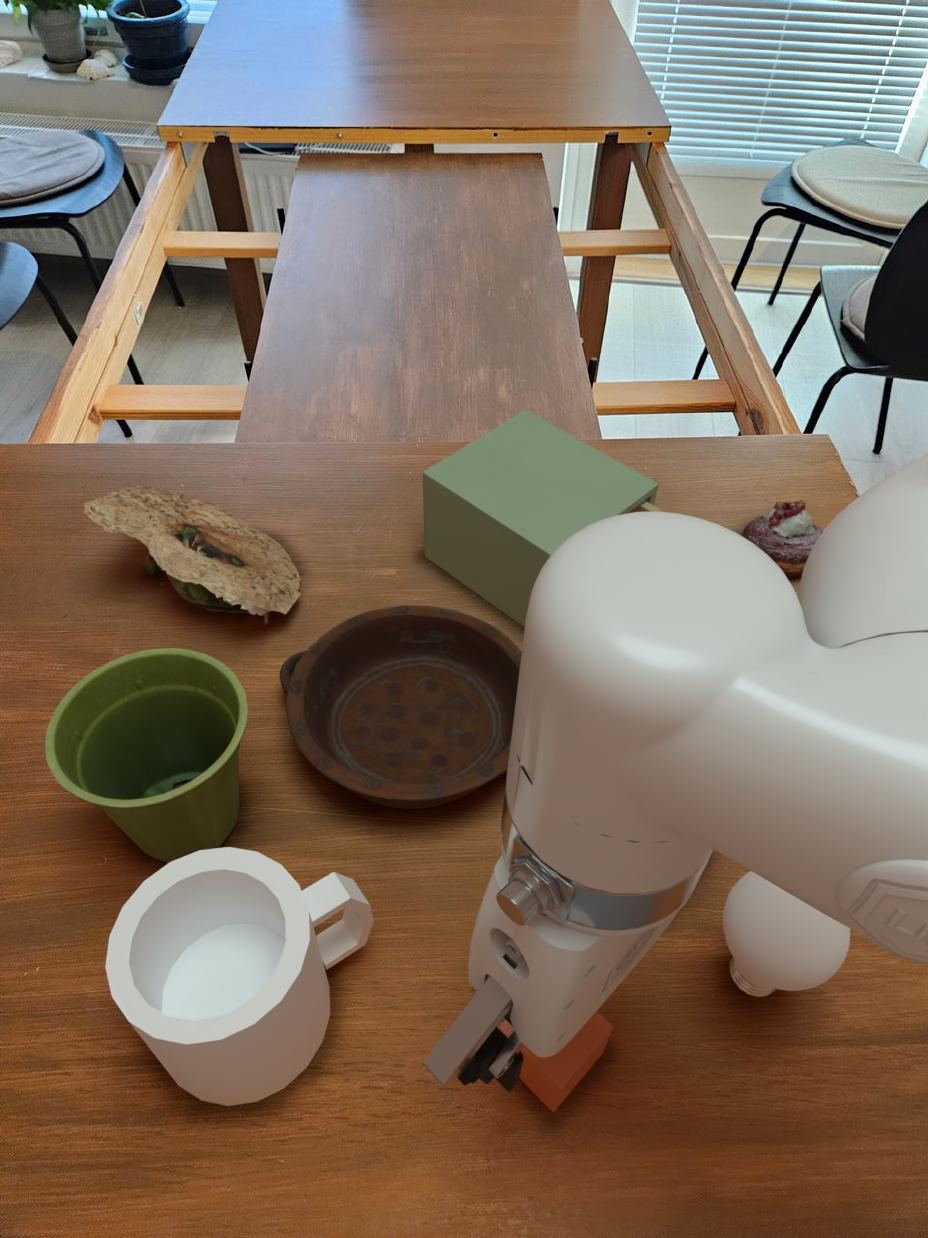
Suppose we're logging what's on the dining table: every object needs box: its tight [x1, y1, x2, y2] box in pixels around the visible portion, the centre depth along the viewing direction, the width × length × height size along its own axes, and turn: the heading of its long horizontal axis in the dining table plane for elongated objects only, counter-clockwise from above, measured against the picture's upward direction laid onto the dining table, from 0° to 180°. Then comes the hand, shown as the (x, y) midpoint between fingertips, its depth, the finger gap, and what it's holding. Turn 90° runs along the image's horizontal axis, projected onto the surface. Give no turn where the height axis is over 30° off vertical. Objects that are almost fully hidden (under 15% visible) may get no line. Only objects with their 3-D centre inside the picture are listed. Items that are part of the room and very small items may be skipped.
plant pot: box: [44, 647, 249, 863], centre depth 58 cm, size 12×12×11 cm
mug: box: [104, 846, 375, 1107], centre depth 50 cm, size 14×10×11 cm
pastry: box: [740, 500, 823, 578], centre depth 79 cm, size 8×8×5 cm
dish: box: [279, 604, 522, 810], centre depth 65 cm, size 18×22×5 cm
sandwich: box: [83, 484, 303, 626], centre depth 76 cm, size 18×14×8 cm
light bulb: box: [721, 870, 851, 998], centre depth 51 cm, size 7×7×11 cm
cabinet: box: [422, 409, 660, 629], centre depth 76 cm, size 15×13×10 cm
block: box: [497, 1010, 614, 1113], centre depth 50 cm, size 4×4×4 cm
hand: (555, 989), depth 45 cm, fingers open, 9 cm apart
